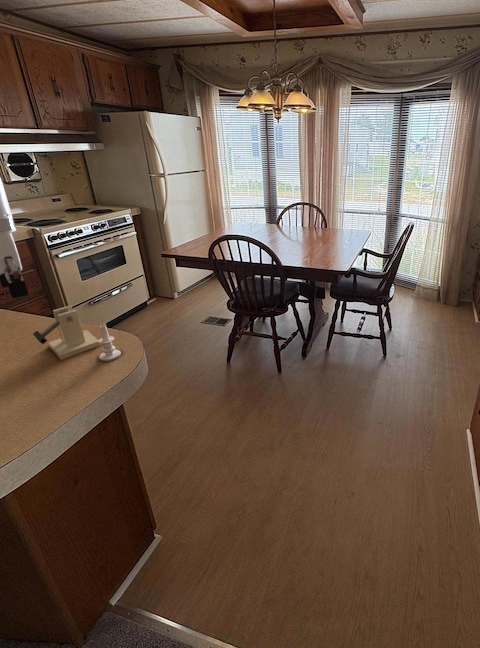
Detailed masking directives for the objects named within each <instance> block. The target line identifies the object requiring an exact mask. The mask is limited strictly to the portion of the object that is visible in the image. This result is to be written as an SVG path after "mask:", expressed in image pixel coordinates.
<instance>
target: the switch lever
mask: <svg viewBox="0 0 480 648" xmlns="http://www.w3.org/2000/svg"><path fill="white" fill-rule="evenodd" d="M65 312H69V311H68V310H67V309H65V310H64V311H63V312H62V313H65ZM62 313H60V314H62ZM59 325H60V322H59V319H58V320H57V321H56V320H55V321H54V322H52V324H50V325H49V326H48V327H46V329H44V330H43V331H42V332H40V331H38V330H36V331H35V332H33V333H32V335H33V336H34V338H35V339H37V341H38V342H39V343H41V344H42V345H44V344H45V343H46V342H47V343H48V342H49V341H48V339H47V338H46V336H48V335H49V334H50V333H51V332H53V331H54V330H55V329H56V328H58V326H59Z"/></svg>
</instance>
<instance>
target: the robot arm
mask: <svg viewBox="0 0 480 648" xmlns="http://www.w3.org/2000/svg"><path fill="white" fill-rule="evenodd" d="M16 231H17V227H16V224H15V220H14V217H13V214H12V210H11V207H10V204H9V201H8V197H7V193H6V190H5V186H4V183H3V180H2V178H1V177H0V285H1V287H2V288H8V290H9V293H10V296H11V299H19V298H22V297H26V296H29V291H28V288H27V285H26V282H25V280H24V277H23V276H22V271H23V266H22V262H21V261H22V260H21V258H20V255H19V252H18V248H17V245H16V243H15V239H14V236H13V233H14V232H16Z"/></svg>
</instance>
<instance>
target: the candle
mask: <svg viewBox="0 0 480 648" xmlns="http://www.w3.org/2000/svg"><path fill="white" fill-rule="evenodd" d="M99 332H100V336H101V338H99V339H98V342H99V343H100V345H102V349H101V352H102V353H100V354H99V356H98V358H99V360H100V361H102V362H110V361H113V360H116V359H118V358H119V357H120V356H121V355H122V354H121V353H122V352H121V351H120V350H119V349H116V346H115V345H113V341H114V340H115V336H112V335H109V331H108V328H107V324H106V323H101V325H99Z"/></svg>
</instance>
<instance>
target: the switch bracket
mask: <svg viewBox="0 0 480 648" xmlns="http://www.w3.org/2000/svg"><path fill="white" fill-rule="evenodd" d="M65 309H67V310H68V311H69V312H65V313H62V312H63V311H64V310H65ZM52 313H53V317H54V319H55V322H56V321H57V320H58V319H59V322H60V325H59V326H58V327H57V330H58V333H59V336H60V338H57V339H55V340H51V341H47V344H48V347H49V348H50V349H51V350H52V352H53V353H54V354H55V355H56V356H57V357H58V358H59V360H64V359H67V358H70V357H73V356H75V355H78V354H80V353H83V352H85V351H90V350H91V349H94V348H98V347H100V346H101V343H99V342H98V340H99V339H98V338H97V337H96V336H94V334H92V332H90V331H89V330H88V329H86V330H83V326H82V324H81V320H80V317H79V316H80V315H79V313H78V310H77V309H73V306H72V305H67V306H64V307H60V308H56V309H53V310H52ZM60 313H62V314H60Z"/></svg>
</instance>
